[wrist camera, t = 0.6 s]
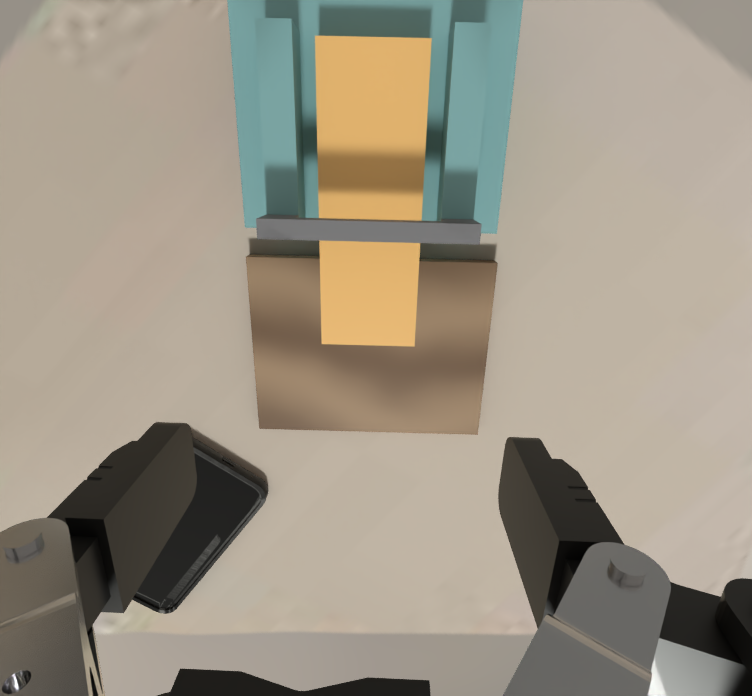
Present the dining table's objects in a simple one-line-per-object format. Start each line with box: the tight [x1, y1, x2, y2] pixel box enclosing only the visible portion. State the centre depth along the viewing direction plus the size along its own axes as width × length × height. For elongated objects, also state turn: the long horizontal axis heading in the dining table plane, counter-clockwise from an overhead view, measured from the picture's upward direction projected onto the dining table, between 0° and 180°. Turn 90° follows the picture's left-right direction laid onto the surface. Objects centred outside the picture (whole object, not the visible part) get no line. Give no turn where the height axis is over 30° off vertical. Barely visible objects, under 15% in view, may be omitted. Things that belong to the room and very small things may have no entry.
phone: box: [132, 437, 268, 614], centre depth 34 cm, size 8×1×15 cm
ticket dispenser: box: [227, 0, 523, 245], centre depth 21 cm, size 10×12×8 cm
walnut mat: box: [246, 254, 498, 435], centre depth 28 cm, size 11×14×1 cm
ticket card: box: [315, 36, 432, 347], centre depth 21 cm, size 13×5×1 cm, turn 179°
